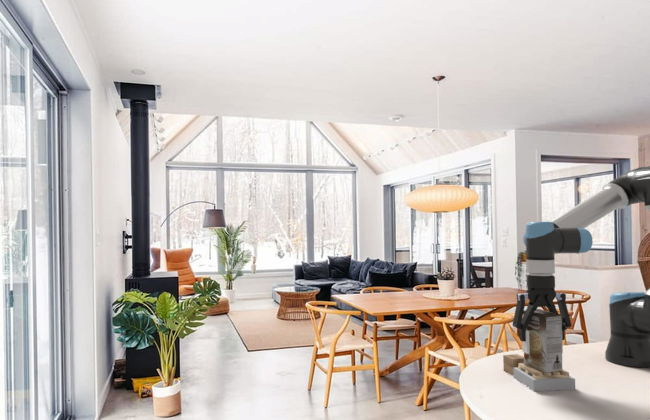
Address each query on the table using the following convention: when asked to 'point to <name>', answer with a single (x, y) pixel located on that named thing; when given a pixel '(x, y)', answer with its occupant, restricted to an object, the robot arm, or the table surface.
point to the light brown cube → (511, 362)
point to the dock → (544, 382)
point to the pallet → (543, 375)
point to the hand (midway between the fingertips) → (542, 352)
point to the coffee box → (545, 341)
